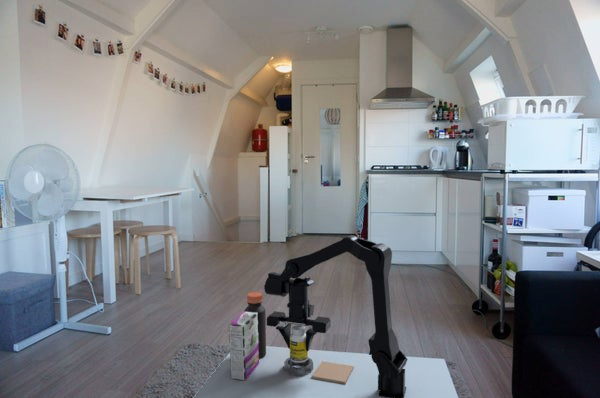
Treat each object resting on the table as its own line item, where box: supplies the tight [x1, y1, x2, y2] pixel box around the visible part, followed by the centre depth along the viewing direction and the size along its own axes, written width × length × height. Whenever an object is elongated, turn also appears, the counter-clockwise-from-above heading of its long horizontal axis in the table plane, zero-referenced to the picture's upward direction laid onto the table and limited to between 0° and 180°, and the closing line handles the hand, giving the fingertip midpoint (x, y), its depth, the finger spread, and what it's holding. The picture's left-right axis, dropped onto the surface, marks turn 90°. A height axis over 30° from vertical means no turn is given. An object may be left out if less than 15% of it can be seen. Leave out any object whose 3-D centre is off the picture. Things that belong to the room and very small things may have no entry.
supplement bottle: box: [289, 325, 309, 363], centre depth 126 cm, size 5×5×10 cm
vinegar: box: [243, 291, 267, 360], centre depth 135 cm, size 7×7×20 cm
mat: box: [311, 360, 355, 385], centre depth 124 cm, size 10×10×1 cm
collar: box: [283, 357, 314, 377], centre depth 126 cm, size 8×8×2 cm
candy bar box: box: [228, 311, 260, 382], centre depth 124 cm, size 11×5×16 cm, turn 164°
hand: (298, 349), depth 126 cm, fingers closed on supplement bottle, 5 cm apart
